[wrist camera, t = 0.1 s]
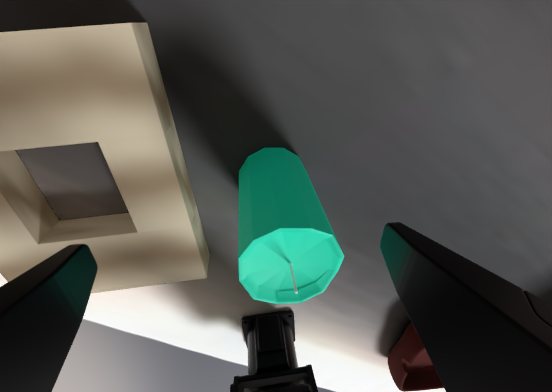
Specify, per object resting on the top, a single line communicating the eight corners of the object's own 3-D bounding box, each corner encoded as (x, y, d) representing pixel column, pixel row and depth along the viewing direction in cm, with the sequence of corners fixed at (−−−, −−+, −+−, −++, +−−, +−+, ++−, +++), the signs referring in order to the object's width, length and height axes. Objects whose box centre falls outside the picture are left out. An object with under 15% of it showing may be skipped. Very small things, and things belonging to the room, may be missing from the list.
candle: (270, 217, 26) (290, 340, 16) (223, 179, 23) (211, 298, 13) (319, 178, 24) (376, 287, 14) (274, 131, 22) (305, 226, 12)
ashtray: (353, 340, 40) (366, 377, 36) (454, 280, 35) (483, 315, 31) (410, 372, 48) (426, 406, 44) (499, 328, 43) (527, 360, 39)
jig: (209, 255, 28) (206, 278, 25) (45, 275, 27) (25, 301, 24) (147, 22, 17) (130, 22, 14) (-132, 43, 16) (-201, 47, 13)
